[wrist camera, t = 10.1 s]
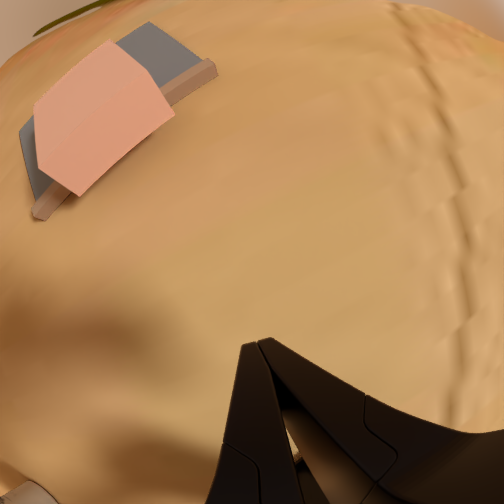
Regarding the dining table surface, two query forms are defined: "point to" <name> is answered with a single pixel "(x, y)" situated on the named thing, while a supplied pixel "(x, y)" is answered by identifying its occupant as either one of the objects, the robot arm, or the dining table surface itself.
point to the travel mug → (27, 495)
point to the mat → (164, 75)
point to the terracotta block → (96, 116)
